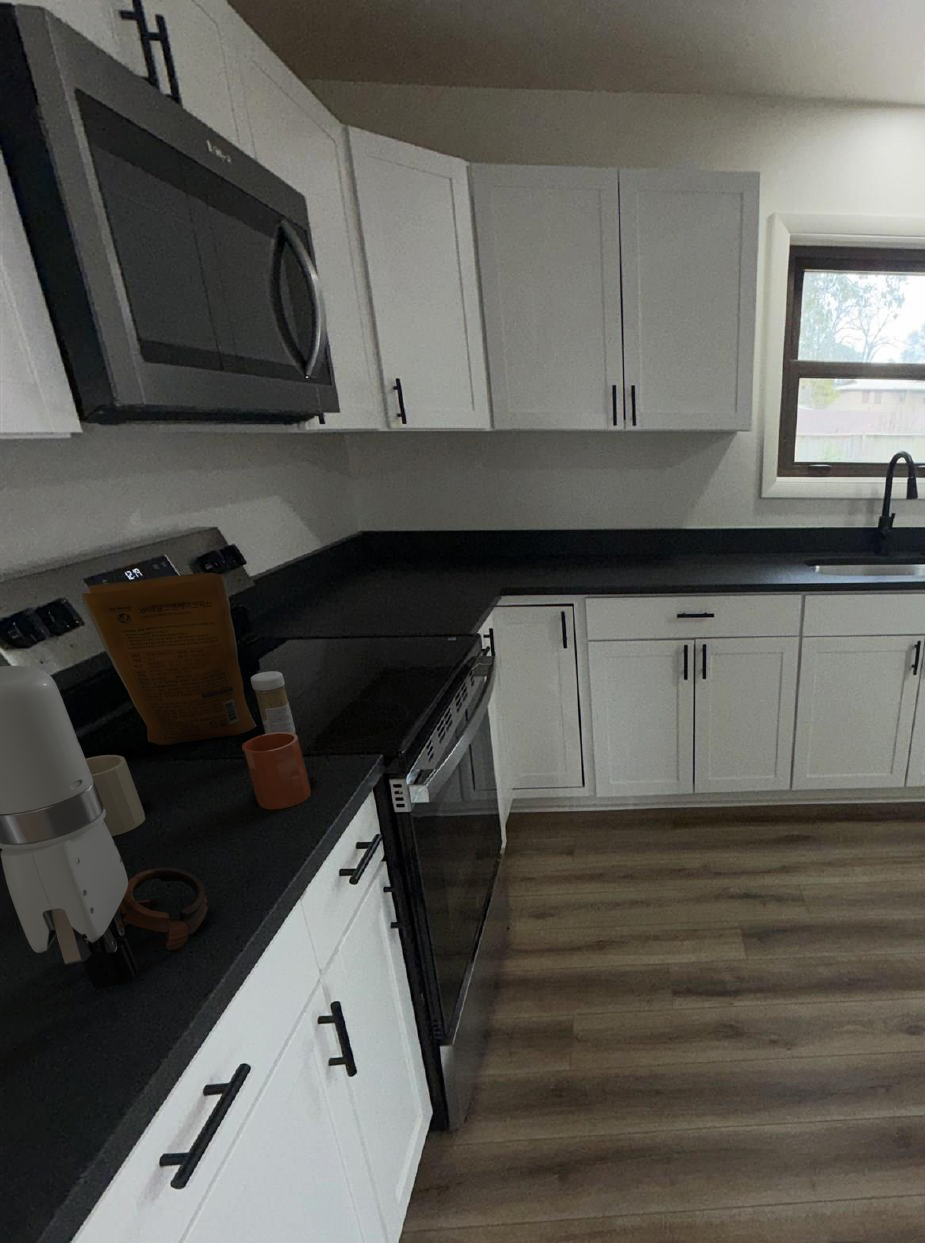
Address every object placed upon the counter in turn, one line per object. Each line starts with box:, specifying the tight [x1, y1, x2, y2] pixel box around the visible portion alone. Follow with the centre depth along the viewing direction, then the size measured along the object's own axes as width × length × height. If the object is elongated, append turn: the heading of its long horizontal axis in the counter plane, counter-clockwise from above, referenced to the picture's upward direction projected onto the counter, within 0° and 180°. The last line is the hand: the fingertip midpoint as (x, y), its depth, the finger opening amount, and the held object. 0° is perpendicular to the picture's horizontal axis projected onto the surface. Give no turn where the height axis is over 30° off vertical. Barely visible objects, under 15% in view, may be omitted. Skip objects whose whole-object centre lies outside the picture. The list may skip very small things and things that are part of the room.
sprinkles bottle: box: [250, 670, 297, 735], centre depth 119 cm, size 5×5×14 cm
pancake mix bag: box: [80, 572, 257, 746], centre depth 121 cm, size 7×19×28 cm, turn 113°
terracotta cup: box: [241, 732, 312, 810], centre depth 105 cm, size 7×7×9 cm
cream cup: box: [85, 754, 146, 838], centre depth 98 cm, size 7×7×9 cm
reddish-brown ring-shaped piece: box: [83, 867, 209, 951], centre depth 77 cm, size 12×10×8 cm
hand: (116, 979), depth 70 cm, fingers closed
